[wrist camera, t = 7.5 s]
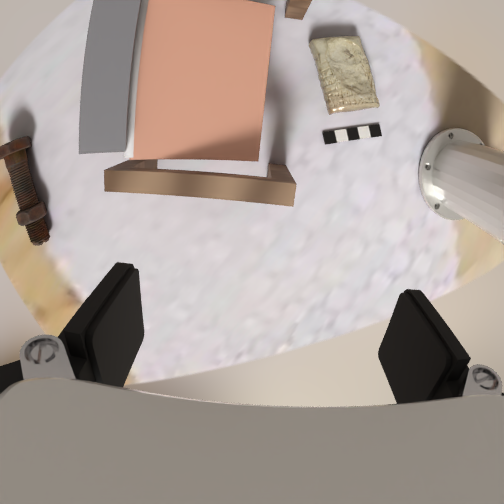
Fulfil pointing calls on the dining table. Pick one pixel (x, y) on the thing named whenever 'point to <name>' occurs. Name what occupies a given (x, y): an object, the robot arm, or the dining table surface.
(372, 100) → the cuneiform tablet
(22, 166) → the bolt
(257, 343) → the dining table surface
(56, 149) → the dining table surface
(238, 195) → the frame
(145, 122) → the trapdoor
